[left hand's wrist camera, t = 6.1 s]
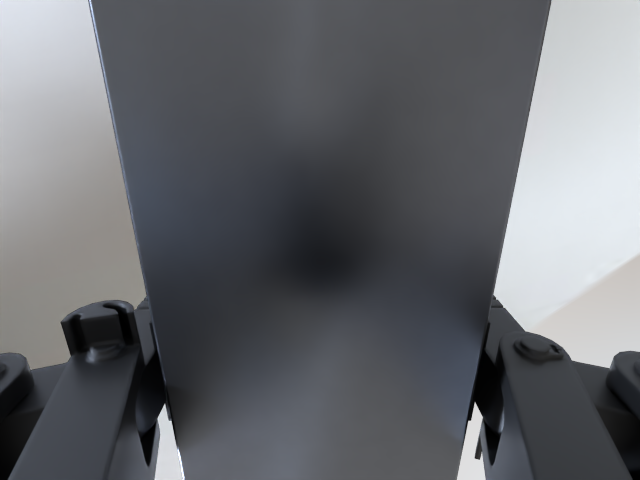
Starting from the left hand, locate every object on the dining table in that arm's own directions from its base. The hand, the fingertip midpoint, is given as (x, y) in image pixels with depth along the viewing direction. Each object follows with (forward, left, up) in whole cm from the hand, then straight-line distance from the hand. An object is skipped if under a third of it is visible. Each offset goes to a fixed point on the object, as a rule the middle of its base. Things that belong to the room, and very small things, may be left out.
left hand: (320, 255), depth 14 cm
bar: (+9, +2, -1) cm, 9 cm away
